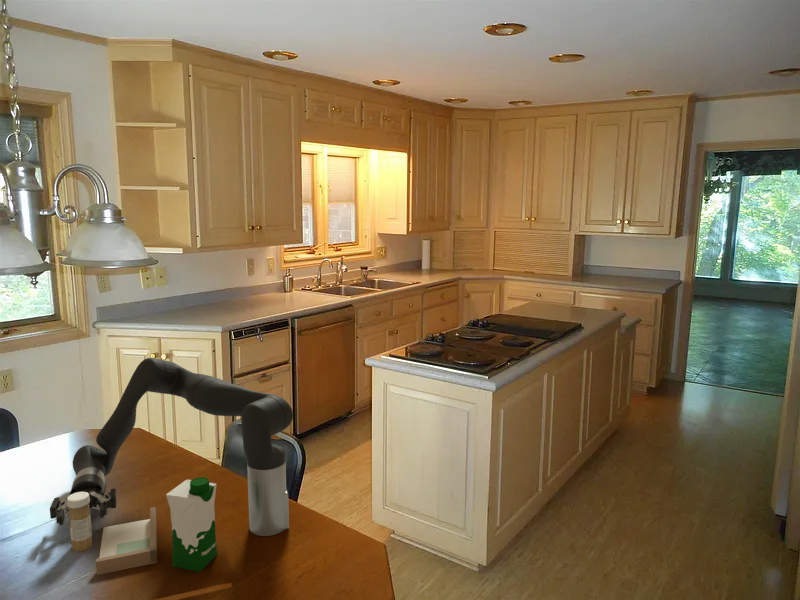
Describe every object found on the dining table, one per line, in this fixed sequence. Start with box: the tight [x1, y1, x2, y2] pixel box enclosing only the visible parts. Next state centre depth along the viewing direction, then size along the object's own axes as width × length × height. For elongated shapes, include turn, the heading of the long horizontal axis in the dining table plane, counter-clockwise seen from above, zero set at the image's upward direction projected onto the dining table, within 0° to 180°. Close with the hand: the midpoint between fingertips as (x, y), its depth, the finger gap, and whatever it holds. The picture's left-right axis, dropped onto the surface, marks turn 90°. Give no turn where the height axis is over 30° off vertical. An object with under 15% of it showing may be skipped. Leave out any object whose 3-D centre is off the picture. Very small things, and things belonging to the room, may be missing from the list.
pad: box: [116, 538, 150, 555], centre depth 137 cm, size 7×7×1 cm
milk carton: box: [165, 476, 218, 573], centre depth 133 cm, size 9×9×20 cm
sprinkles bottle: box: [66, 492, 94, 552], centre depth 138 cm, size 5×5×13 cm
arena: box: [95, 506, 158, 575], centre depth 140 cm, size 12×20×4 cm, turn 22°
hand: (81, 517), depth 139 cm, fingers open, 8 cm apart
